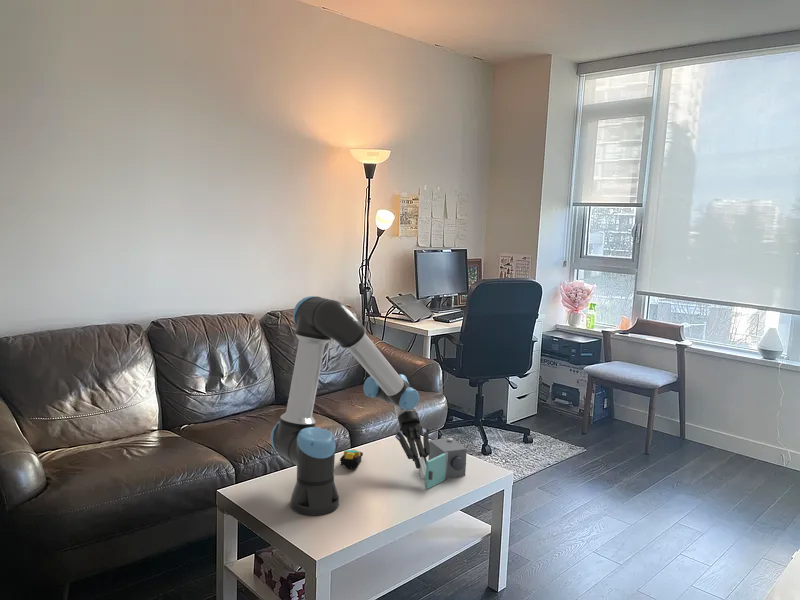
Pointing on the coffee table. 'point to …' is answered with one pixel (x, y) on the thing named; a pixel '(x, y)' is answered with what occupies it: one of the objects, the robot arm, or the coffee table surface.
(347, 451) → the gadget
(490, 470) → the coffee table surface
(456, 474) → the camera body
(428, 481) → the side door
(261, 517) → the coffee table surface
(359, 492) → the coffee table surface
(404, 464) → the coffee table surface
